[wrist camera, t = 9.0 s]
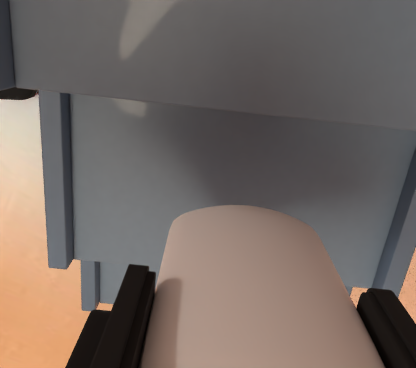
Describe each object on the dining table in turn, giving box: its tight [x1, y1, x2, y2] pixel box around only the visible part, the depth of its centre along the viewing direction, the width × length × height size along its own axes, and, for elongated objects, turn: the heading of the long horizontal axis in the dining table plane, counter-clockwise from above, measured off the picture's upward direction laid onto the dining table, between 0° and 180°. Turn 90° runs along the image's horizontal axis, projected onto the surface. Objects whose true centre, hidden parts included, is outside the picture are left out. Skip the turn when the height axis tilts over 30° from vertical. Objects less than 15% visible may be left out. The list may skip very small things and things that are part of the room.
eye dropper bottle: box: [138, 205, 385, 368], centre depth 9 cm, size 4×6×12 cm
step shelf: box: [0, 0, 416, 311], centre depth 20 cm, size 24×19×16 cm
